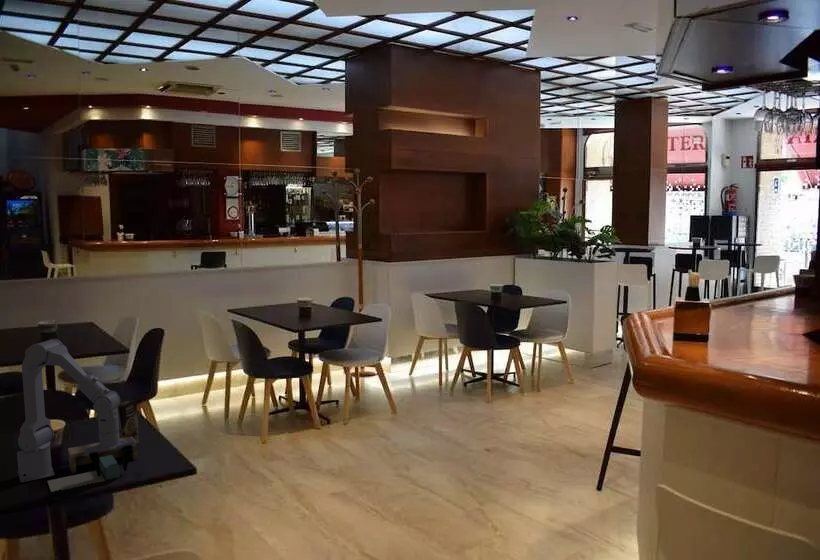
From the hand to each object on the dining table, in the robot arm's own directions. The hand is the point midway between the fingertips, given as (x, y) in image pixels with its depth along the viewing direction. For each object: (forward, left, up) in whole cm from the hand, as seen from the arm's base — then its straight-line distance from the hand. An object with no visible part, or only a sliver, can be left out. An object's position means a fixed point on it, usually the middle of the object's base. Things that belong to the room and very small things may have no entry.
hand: (111, 472), depth 217 cm
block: (0, +5, -2) cm, 5 cm away
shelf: (0, +15, -1) cm, 15 cm away
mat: (-10, +3, -1) cm, 11 cm away
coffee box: (+9, +28, -2) cm, 29 cm away
